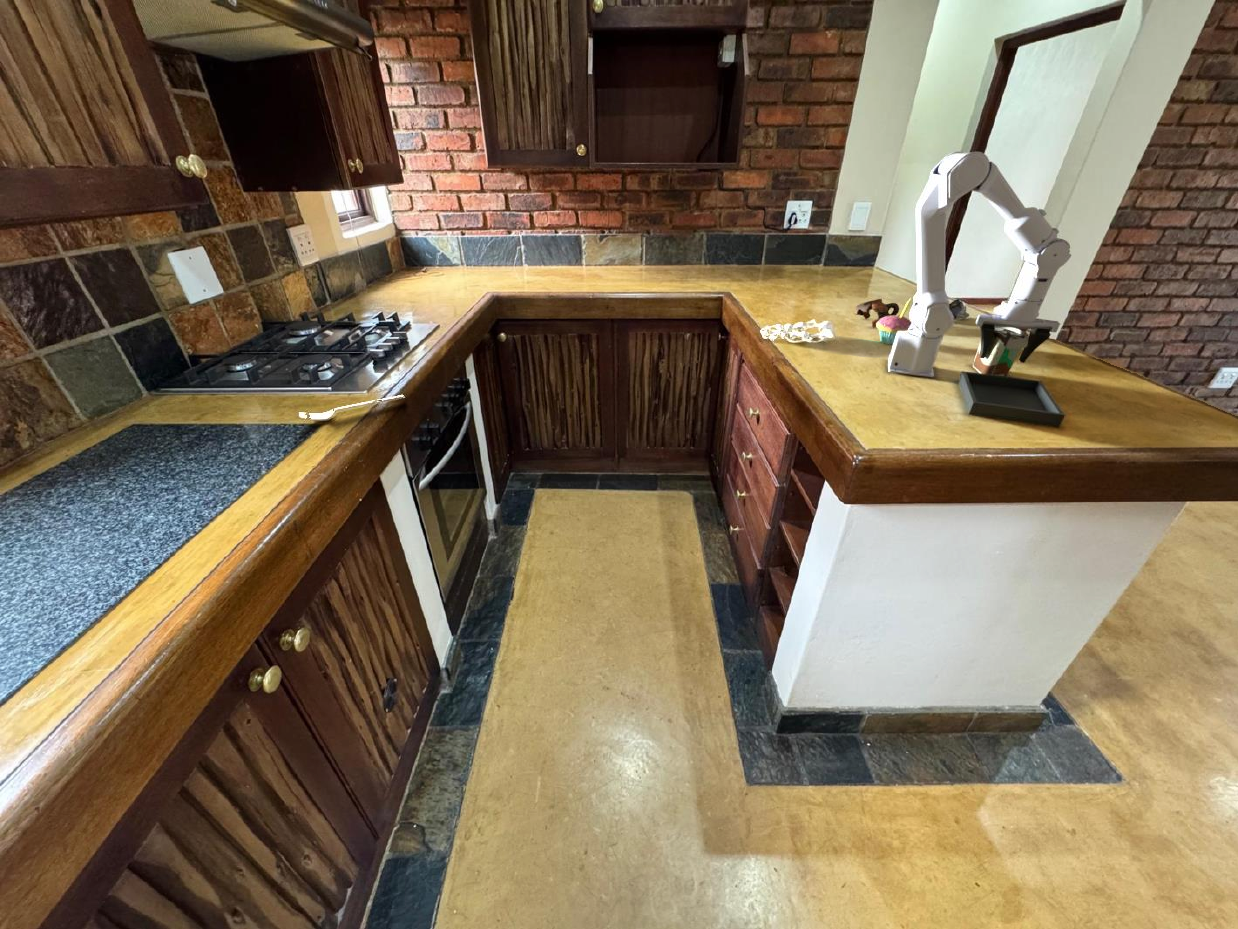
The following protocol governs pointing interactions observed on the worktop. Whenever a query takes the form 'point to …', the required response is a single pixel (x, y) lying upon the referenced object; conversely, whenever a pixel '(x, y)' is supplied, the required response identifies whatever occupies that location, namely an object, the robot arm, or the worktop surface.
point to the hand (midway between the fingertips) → (1001, 359)
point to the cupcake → (892, 326)
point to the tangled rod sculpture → (804, 336)
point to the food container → (1001, 351)
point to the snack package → (958, 309)
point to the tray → (1009, 399)
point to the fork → (332, 413)
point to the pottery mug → (876, 310)
